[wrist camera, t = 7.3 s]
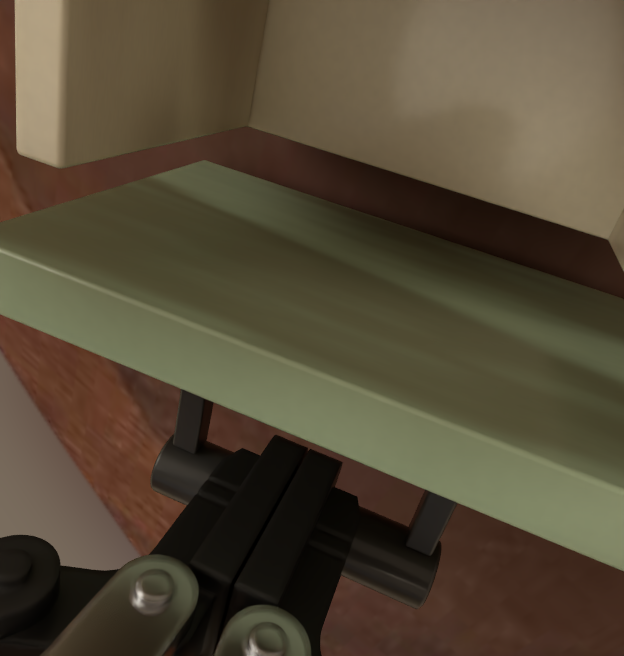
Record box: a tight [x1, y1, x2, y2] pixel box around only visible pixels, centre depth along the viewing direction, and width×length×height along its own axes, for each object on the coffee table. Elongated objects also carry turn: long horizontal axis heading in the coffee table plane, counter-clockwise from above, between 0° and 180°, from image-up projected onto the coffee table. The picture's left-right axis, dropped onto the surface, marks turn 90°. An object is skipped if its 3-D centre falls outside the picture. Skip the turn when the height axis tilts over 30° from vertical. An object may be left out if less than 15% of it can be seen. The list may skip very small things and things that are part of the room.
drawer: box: [0, 0, 624, 609], centre depth 10 cm, size 19×12×8 cm, turn 166°
